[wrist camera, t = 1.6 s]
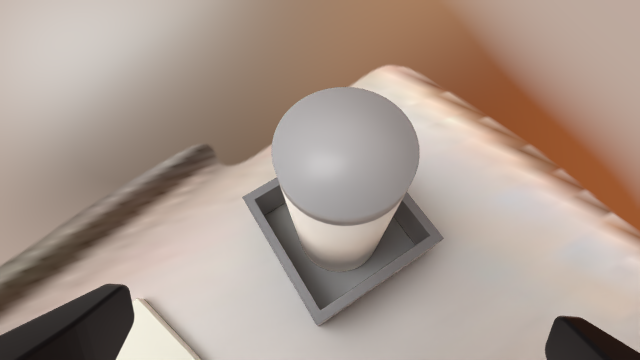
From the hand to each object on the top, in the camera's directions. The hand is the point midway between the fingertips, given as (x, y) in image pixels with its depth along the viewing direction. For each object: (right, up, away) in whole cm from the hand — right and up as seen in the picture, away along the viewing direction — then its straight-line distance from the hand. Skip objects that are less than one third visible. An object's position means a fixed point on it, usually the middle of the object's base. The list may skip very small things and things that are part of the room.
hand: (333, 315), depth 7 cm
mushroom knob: (+1, 0, +14) cm, 15 cm away
